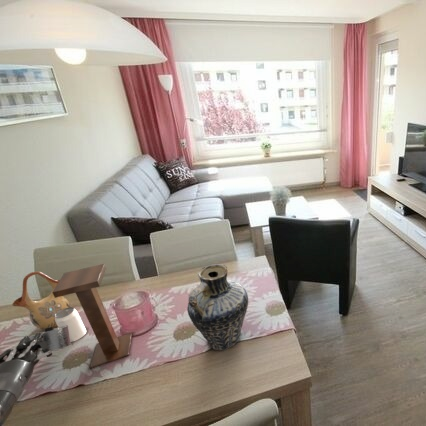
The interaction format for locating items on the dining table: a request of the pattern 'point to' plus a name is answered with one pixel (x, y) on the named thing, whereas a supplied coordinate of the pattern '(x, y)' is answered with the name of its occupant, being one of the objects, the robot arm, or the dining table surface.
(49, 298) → the ceramic vessel
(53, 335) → the pot
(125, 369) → the dining table surface
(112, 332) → the stand
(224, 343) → the blue patterned vase
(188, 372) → the dining table surface
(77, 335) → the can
